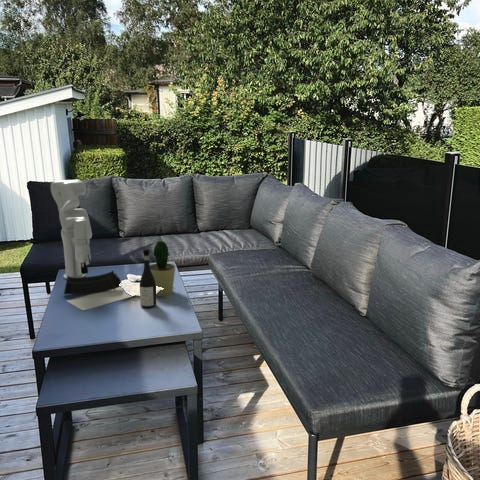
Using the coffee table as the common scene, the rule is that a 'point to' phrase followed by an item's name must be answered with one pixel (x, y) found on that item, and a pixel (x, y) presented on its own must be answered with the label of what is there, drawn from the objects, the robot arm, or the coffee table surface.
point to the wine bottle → (147, 284)
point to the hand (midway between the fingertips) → (84, 273)
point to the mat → (99, 299)
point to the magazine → (92, 284)
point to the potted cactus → (162, 269)
